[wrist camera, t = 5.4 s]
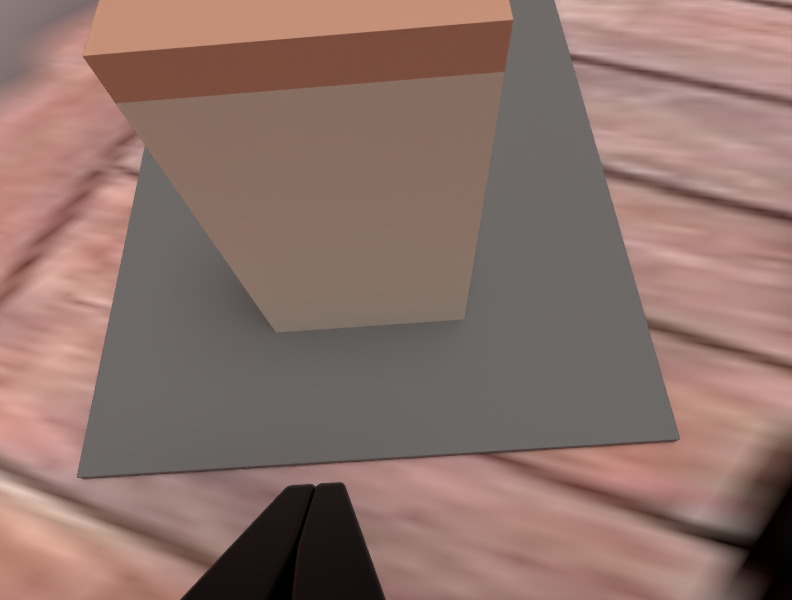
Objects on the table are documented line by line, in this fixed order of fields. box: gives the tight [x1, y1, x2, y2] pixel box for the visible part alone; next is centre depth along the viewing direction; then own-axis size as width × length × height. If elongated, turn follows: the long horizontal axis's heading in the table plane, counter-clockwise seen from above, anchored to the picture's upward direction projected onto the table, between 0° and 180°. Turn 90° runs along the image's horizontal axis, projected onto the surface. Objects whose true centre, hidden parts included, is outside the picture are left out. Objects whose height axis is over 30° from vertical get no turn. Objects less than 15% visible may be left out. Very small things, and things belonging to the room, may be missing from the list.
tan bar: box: [83, 0, 513, 333], centre depth 15 cm, size 4×7×12 cm, turn 93°
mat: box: [77, 0, 680, 479], centre depth 23 cm, size 26×20×1 cm
